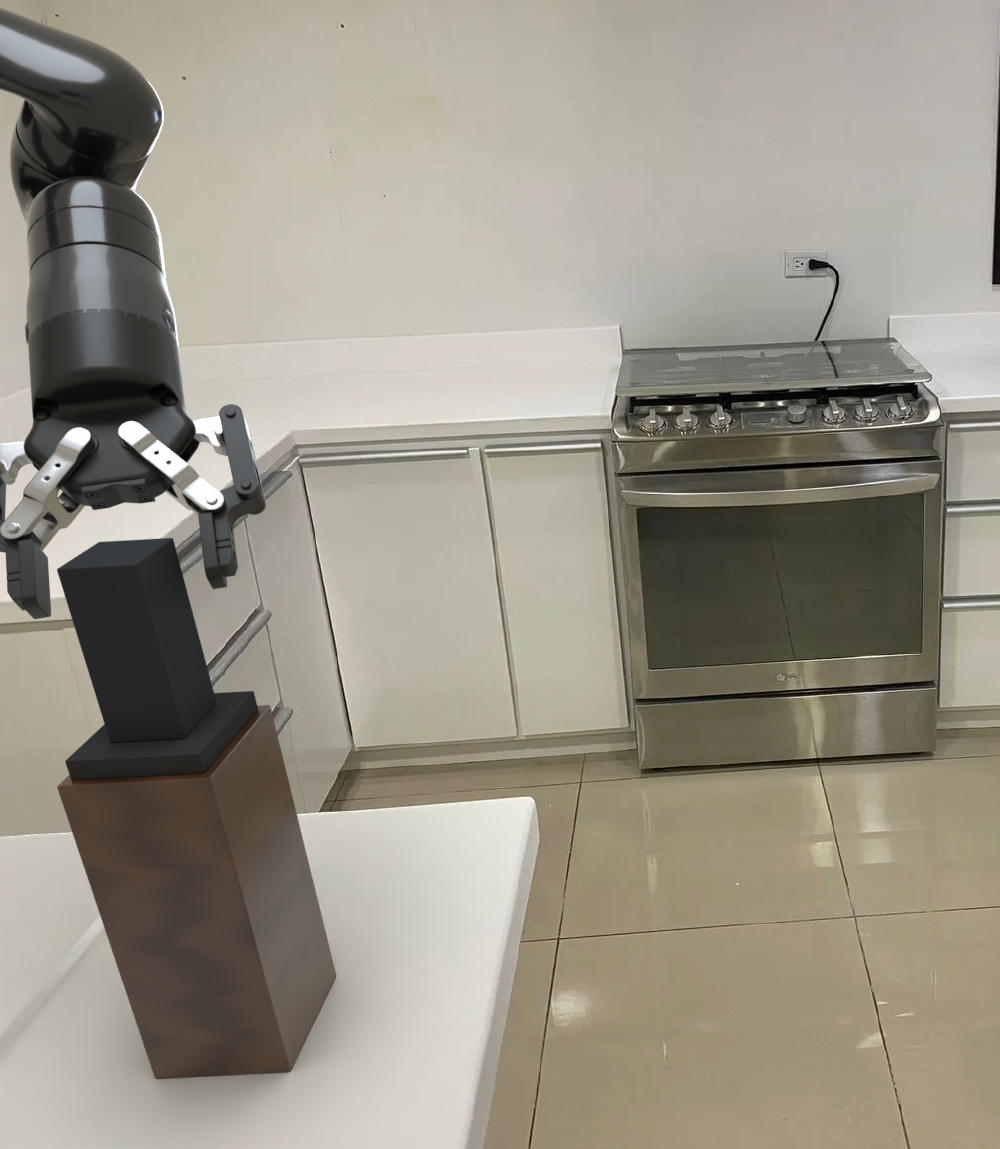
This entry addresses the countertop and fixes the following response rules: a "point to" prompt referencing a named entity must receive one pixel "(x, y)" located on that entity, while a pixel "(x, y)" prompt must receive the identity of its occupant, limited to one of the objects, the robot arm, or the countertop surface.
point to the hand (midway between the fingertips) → (128, 597)
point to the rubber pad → (165, 746)
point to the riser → (208, 907)
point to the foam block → (138, 638)
